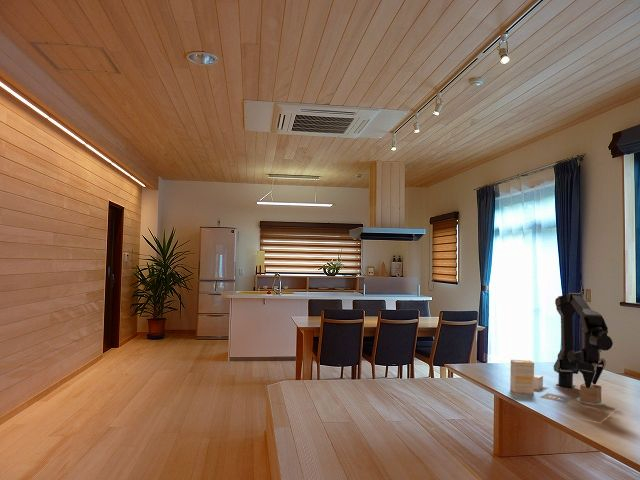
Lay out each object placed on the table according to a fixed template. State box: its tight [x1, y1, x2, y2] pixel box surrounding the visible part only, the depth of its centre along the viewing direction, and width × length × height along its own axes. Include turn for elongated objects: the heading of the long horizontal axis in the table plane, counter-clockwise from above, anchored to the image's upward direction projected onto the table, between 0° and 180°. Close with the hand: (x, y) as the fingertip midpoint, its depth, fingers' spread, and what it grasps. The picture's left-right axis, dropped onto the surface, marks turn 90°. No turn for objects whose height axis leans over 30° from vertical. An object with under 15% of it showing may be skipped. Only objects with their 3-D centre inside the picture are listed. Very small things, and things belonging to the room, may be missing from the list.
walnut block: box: [579, 382, 602, 405], centre depth 191 cm, size 6×6×6 cm
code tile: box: [539, 392, 575, 404], centre depth 193 cm, size 10×10×1 cm
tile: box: [534, 386, 549, 392], centre depth 208 cm, size 9×9×1 cm
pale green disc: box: [575, 397, 606, 406], centre depth 190 cm, size 10×10×1 cm
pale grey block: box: [534, 373, 544, 391], centre depth 208 cm, size 5×5×5 cm
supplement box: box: [509, 359, 535, 395], centre depth 201 cm, size 8×5×13 cm, turn 84°
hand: (591, 386), depth 191 cm, fingers open, 9 cm apart
